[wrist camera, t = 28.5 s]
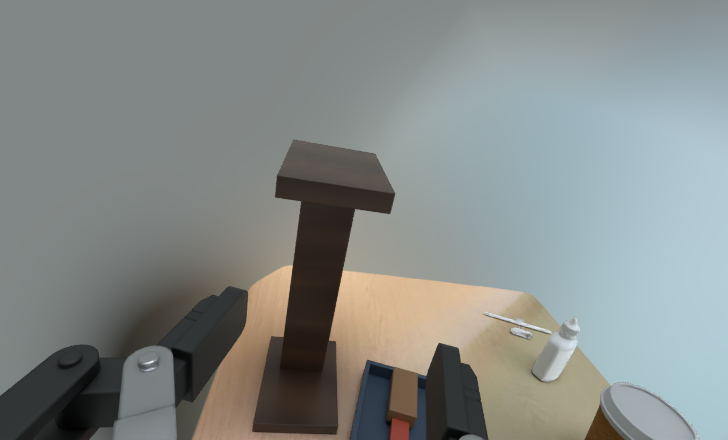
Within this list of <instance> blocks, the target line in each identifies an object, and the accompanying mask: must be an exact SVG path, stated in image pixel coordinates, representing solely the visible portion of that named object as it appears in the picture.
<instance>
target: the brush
mask: <svg viewBox="0 0 728 440" xmlns="http://www.w3.org/2000/svg"><path fill="white" fill-rule="evenodd" d="M417 390H418V373H414V372H411V371H407V370H404V369H400V368H397V367H394V368H393V372H392V375H391V380H390V389H389V398H388V407H387V416H386V424H387V425H390V426H389V434H388V440H409V431H410V430H411V427H412V428H413V426H414V424H415V421H416V419H417Z"/></svg>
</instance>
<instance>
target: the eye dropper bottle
mask: <svg viewBox="0 0 728 440" xmlns="http://www.w3.org/2000/svg"><path fill="white" fill-rule="evenodd" d="M577 322H578V319H577V318H575V317H574V318H573V319H572V320H571V321H567V320H566V321H564V322H563V324H562V326H561V328H560V330H559V331H557V332H555V333H553V334H552V335H551V336H550V337H549V339H548V341H547V343H546V344H545V346H544V348H543V350H542V352H541V354H540V355H539V357H538V359H537V361H536V363H535V365H534V367H533V369H532V372H533V374H534V375H535V376H537V377H538V378H539V379H540V380H541V381H545V382H549V381H554V380H556V379H557V378H558V377H559V375H560V374H561V372H562V370H563V369H564V367H565V365H566V364H567V362H568V360H569V358H570V357H571V355H572V353H573V352H574V350H575V348H576V346H577V339H576V336H577V334H578V333H579V331H580V328H579V326H578V325H577Z"/></svg>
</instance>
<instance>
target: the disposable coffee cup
mask: <svg viewBox="0 0 728 440" xmlns="http://www.w3.org/2000/svg"><path fill="white" fill-rule="evenodd" d="M600 396H601V399H600V406H599V408H598V411H597V413H596V416H595V417H594V420H593V423H592V424H591V427H590V429H589V431H588V434H587V436H586V438H585V440H700V439H699V436H698V434H697V432H696V430H695V429H694V428H693V426H692V424H691V423H690V422H689V421H688V420H687V419H686V418H685V417H684V416H683V415H682V414H681V413H680V412H679V411H678V410H677V409H676V408H675V407H673V406H672V405H671V404H670V403H668V402H667V401H665V400H664V399H663V398H661V397H660V396H658V395H656V394H655V393H653V392H651V391H649V390H647V389H645V388H643V387H640V386H638V385H634V384H631V383H626V382H618V383H615V384H613V385H612V386H608V387H606V388H604V389H603V391H602V392H601V395H600Z"/></svg>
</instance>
